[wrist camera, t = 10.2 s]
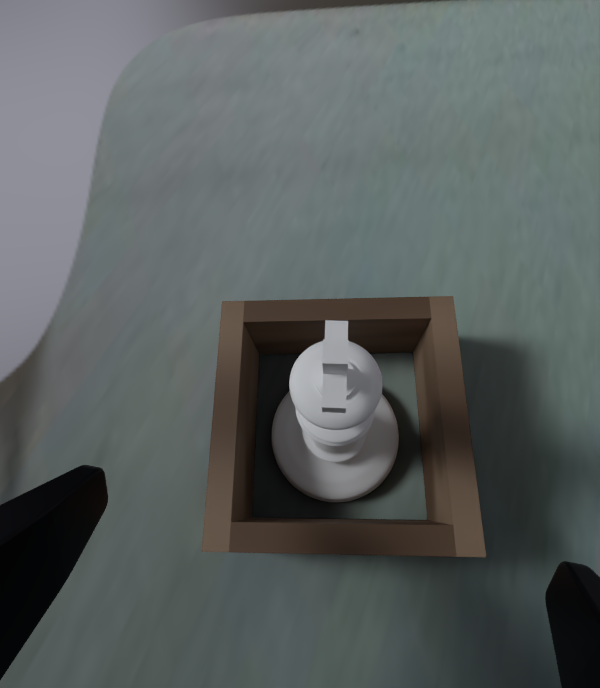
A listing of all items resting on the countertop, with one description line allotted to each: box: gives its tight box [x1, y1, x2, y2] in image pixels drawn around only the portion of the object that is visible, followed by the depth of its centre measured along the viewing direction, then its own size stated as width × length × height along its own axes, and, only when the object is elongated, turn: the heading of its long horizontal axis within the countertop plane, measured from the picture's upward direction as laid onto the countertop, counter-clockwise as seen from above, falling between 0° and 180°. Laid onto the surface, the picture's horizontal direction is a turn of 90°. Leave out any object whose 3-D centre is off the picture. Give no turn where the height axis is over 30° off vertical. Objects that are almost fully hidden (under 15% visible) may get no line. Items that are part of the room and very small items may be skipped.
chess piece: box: [272, 320, 399, 502], centre depth 12 cm, size 5×5×10 cm
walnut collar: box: [202, 296, 486, 557], centre depth 15 cm, size 8×8×4 cm
